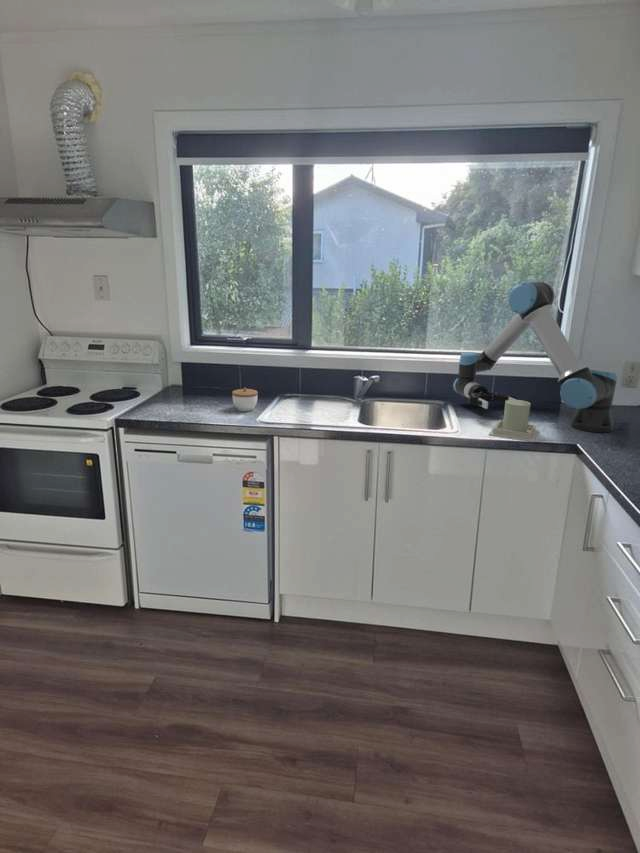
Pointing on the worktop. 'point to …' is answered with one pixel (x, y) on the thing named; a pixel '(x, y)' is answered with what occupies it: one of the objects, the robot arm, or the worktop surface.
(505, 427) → the can
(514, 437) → the square tray
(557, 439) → the worktop surface
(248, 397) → the lidded jar
